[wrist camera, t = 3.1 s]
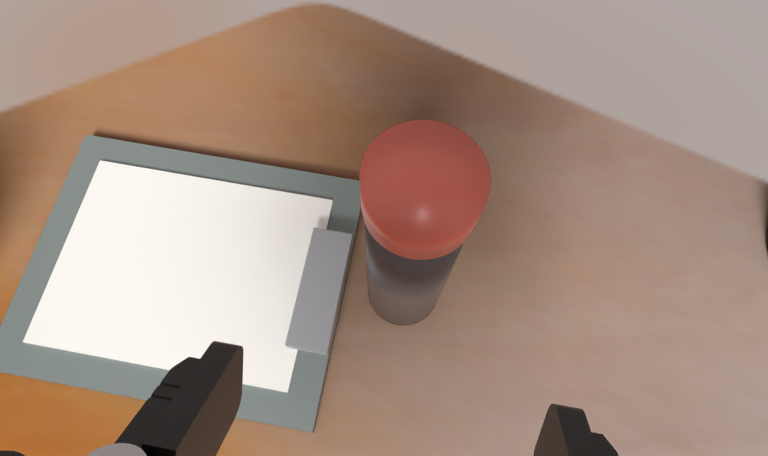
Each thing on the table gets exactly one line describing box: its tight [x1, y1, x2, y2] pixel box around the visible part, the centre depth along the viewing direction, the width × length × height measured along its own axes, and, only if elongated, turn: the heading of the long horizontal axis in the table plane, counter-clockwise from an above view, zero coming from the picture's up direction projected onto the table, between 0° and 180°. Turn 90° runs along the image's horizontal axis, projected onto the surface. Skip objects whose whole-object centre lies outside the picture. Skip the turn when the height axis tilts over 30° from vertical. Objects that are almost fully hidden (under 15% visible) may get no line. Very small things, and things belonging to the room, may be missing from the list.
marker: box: [360, 120, 491, 325], centre depth 21 cm, size 4×4×13 cm
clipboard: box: [0, 135, 361, 432], centre depth 27 cm, size 16×13×2 cm
